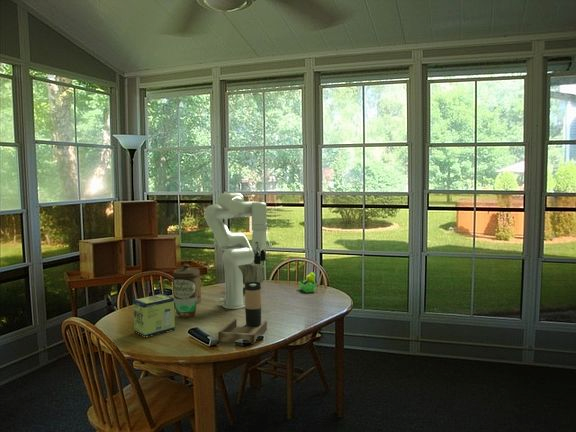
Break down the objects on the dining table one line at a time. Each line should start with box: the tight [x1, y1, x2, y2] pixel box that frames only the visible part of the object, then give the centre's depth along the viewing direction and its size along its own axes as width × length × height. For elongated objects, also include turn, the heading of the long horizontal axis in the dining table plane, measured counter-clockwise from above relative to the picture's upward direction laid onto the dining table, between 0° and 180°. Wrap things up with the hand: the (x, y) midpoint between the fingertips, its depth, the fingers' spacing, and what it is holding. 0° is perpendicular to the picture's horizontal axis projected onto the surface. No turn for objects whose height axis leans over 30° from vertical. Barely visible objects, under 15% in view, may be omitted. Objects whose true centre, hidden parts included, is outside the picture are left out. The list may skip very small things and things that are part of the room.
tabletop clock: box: [238, 251, 265, 285], centre depth 297 cm, size 14×9×25 cm, turn 58°
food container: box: [173, 296, 198, 320], centre depth 241 cm, size 12×6×10 cm, turn 105°
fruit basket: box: [298, 271, 317, 293], centre depth 293 cm, size 11×9×11 cm
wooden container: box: [172, 263, 202, 305], centre depth 269 cm, size 15×15×22 cm
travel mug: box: [244, 282, 262, 328], centre depth 227 cm, size 8×8×20 cm
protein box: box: [132, 293, 176, 337], centre depth 220 cm, size 10×16×16 cm
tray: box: [217, 318, 268, 345], centre depth 213 cm, size 16×20×4 cm
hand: (260, 262), depth 237 cm, fingers open, 8 cm apart
